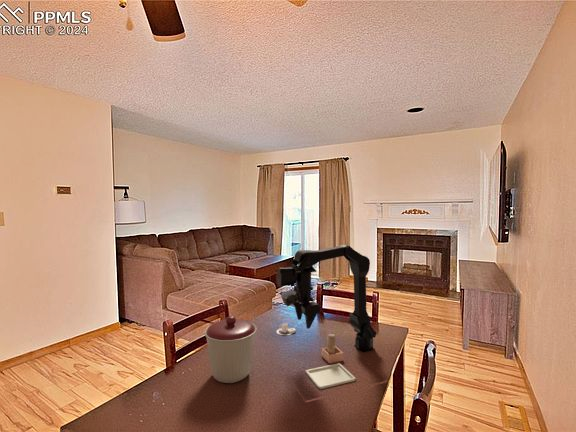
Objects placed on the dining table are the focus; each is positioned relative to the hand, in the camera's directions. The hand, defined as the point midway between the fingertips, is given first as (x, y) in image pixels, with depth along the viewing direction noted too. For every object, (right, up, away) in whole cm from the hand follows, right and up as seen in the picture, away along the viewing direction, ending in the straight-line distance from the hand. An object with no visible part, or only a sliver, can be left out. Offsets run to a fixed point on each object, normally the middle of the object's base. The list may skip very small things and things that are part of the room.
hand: (303, 323), depth 120 cm
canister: (-26, -15, -9) cm, 32 cm away
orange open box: (+11, -15, +2) cm, 18 cm away
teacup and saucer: (-6, -14, +25) cm, 29 cm away
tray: (+9, -15, -11) cm, 20 cm away
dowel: (+11, -14, +2) cm, 18 cm away
